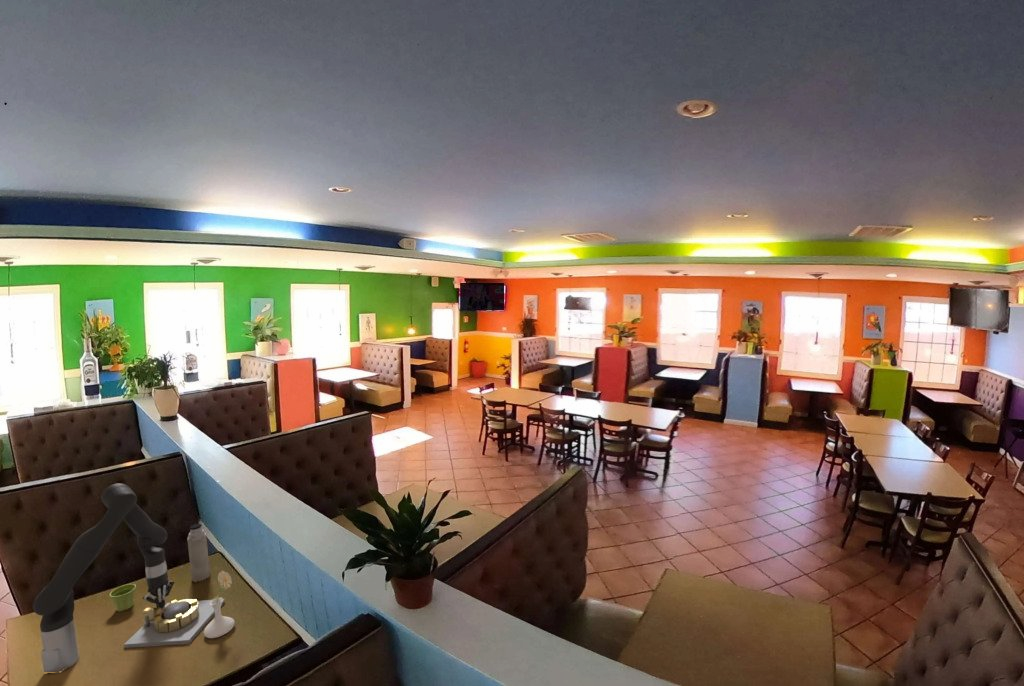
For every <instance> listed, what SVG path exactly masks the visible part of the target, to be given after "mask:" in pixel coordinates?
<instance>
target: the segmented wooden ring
mask: <svg viewBox="0 0 1024 686" xmlns="http://www.w3.org/2000/svg"><path fill="white" fill-rule="evenodd" d="M180 601H187V602H188V603H189V611H187V612H186V613H185V614H183V615H182V614H181V613H180V614H178V615H176V618H173V619H164V613H163V612H164V610H165V609H166V608H167V607H168V606H170V605H171V604H173V603H176V602H180ZM198 601H199V600H197V598H194V599H193V598H185V599H180V600H177V599H173V600H171V601H170V603H171V604H169V605H167V606H165V607H164V608H162V609H161V608H157V607H146V608H145V609H144V610H143V611H142V612H143V618H144V619H143V620H144V622H145V617H146V616H149V620H150V621H154V627H155V629H156V630H157V631H158V632H159V631H160V632H168V631H169V632H170V631H173V630H177V629H180V627H181V628H182V627H184V626H186V625H187V624H189V623H191V622H192V621H193V620H194V619H195V618H196V617H197V616H198V613H199V605H198Z"/></svg>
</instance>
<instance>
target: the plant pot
mask: <svg viewBox="0 0 1024 686" xmlns="http://www.w3.org/2000/svg"><path fill="white" fill-rule="evenodd" d="M136 587H137V585H136V584H135V583H127V584H123V585H121V586H118V587H117V588H114V589H113V590H112V591H111V592H110V593H109V597H111V599H112V600H113V603H114V606H115V611H117V612H123V611H125V610H126V611H127V610H128V609H130V608H132V607H133V606H134V603H135V601H134V600H135V591H136Z"/></svg>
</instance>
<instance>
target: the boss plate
mask: <svg viewBox="0 0 1024 686" xmlns="http://www.w3.org/2000/svg"><path fill="white" fill-rule="evenodd" d="M223 599H224V600H223V602H222V604H223V603H224V602H225V603H226V601H225V600H226V599H225V598H223ZM212 600H213V599H206V600H205V599H204V600H197V601H198V605H199V613H198V616H197V617H196V618H195V619H194V620H193V621H192V622H191V623H189V624H187V625H186V626H184V627H182V628H181V627H180V629H177V630H173V631H170V632H169V631H168V632H160V631H159V632H158V631H157V630H156V629H155V627H154V621H150V620H149V616H146V617H145V621H144V622H145V624H144V625H142V626H141V627H140V628H139V629H138V630H137V631H136V632H135V633H134V634H133V635H132V636H131V637H130V638H129V639H128V640H127V641H126V642H125V643H123V648H125V649H129V648H144V647H158V646H173V645H175V646H176V645H187V644H191V642H193V640H194V639H195V638H196V636H198V634H200V632H201V631H202V629H204V627H206V626H207V625H208V623H209V622H210V620H211V619H212V618H213V617H214V616H215V612H214V608H213V607H212V606H211V605H210V602H211V601H212ZM179 601H180V600H179ZM225 603H224V604H225ZM169 604H171V602H167V603H165V606H167V605H169ZM222 604H221V607H222V606H223V605H224V604H223V605H222ZM187 611H189V603H188V602H187V601H180V602H176V603H173V604H171V605H170V606H168V607H167V608H166V609H165V610H164V612H163V613H164V619H173V618H176V615H178V614H180V613H181V614H182V615H183V614H185V613H186V612H187Z"/></svg>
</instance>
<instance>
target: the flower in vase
mask: <svg viewBox="0 0 1024 686" xmlns="http://www.w3.org/2000/svg"><path fill="white" fill-rule="evenodd" d="M230 575H231V574H229V572H225V571H224V570H222V571H220V572H219V573H218V574H217V582H218V584H219V587H218V591H217V596H213V597H212V599H211V600H212V601H211V602H210V605H211V606H212V607H213V608H214V612H215V614H214V618H213V619H212V620H211V621H209V622H208V623H207V624H206V626H205V628H204V629H203V636H204V637H206V638H208V639H215V638H219V637H222V636H224V635H226V634H227V633H229V632H230V631H232V629H233V628H234V627H235V624H236V621H235V620H234V618H233V617H229V616H224V615H222V610H221V609H222V608H221V607H222V606H221V604H222V602H223V600H224V599H225V598H223V597H220V594H224V593H225V592H226V590H227V589H229V588H231V587H232V584H233V582H232V576H230Z"/></svg>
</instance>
